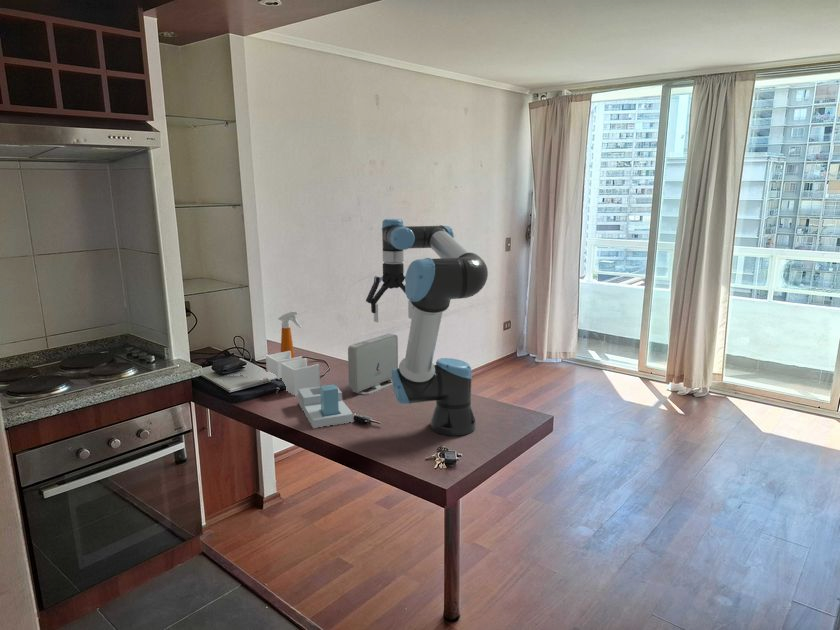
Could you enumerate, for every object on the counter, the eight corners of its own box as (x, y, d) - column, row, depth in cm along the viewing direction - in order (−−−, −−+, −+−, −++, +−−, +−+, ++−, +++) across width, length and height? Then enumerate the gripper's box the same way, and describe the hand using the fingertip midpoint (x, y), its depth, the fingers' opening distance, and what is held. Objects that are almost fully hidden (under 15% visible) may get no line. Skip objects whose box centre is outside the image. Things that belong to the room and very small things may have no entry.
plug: (338, 421, 195) (337, 388, 193) (324, 423, 193) (323, 390, 191) (334, 415, 201) (333, 383, 198) (320, 417, 199) (319, 385, 196)
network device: (360, 398, 217) (359, 348, 213) (344, 393, 222) (342, 344, 218) (402, 380, 237) (401, 335, 233) (386, 376, 242) (385, 331, 238)
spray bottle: (301, 370, 250) (298, 312, 244) (277, 370, 251) (274, 312, 245) (305, 366, 257) (303, 309, 251) (282, 365, 258) (279, 309, 252)
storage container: (267, 380, 238) (265, 355, 236) (290, 375, 245) (289, 350, 243) (295, 396, 219) (293, 369, 217) (320, 390, 226) (319, 364, 224)
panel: (353, 422, 195) (353, 405, 194) (313, 428, 189) (312, 411, 188) (335, 398, 216) (334, 384, 215) (298, 404, 211) (298, 389, 210)
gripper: (420, 259, 211) (420, 314, 216) (356, 262, 201) (358, 320, 206) (428, 262, 204) (428, 319, 209) (363, 265, 195) (364, 325, 199)
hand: (393, 320), depth 207 cm, fingers open, 13 cm apart
